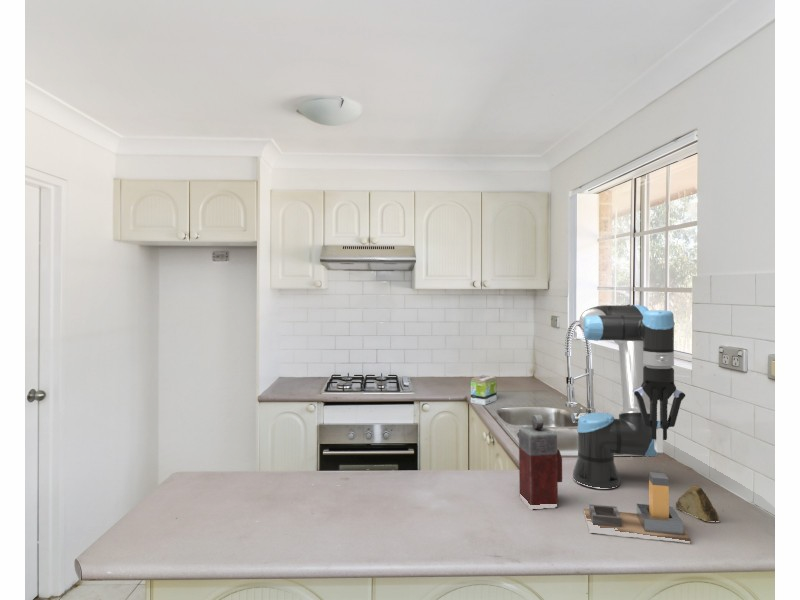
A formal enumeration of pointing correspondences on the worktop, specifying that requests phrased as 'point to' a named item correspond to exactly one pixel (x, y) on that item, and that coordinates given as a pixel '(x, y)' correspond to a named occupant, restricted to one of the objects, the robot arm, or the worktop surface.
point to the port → (659, 521)
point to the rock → (697, 504)
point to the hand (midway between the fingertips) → (658, 450)
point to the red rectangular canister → (539, 463)
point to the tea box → (483, 389)
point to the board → (622, 521)
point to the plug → (658, 495)
